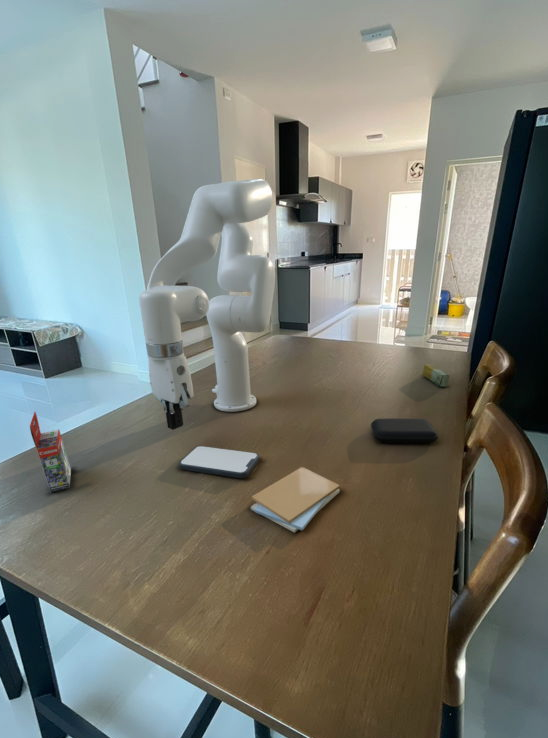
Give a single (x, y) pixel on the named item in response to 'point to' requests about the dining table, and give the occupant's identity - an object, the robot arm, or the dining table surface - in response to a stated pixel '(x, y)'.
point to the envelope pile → (295, 498)
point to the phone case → (220, 461)
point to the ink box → (51, 456)
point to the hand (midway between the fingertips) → (175, 426)
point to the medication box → (435, 375)
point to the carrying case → (403, 430)
